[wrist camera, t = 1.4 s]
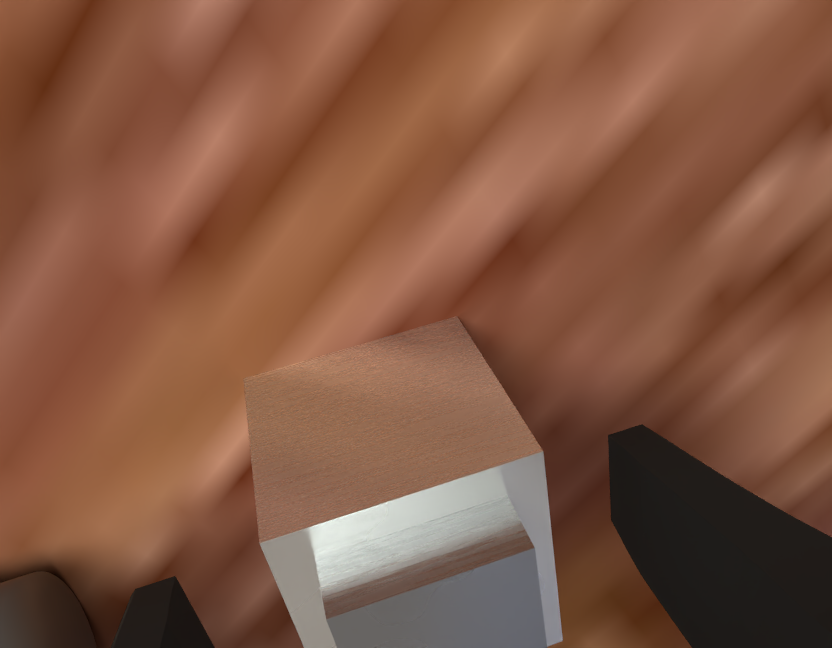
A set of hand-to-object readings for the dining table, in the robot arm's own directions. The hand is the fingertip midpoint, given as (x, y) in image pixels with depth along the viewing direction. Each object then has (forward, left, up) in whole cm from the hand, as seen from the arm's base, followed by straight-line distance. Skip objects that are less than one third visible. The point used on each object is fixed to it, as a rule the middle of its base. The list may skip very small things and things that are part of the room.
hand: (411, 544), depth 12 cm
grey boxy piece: (0, 0, -3) cm, 3 cm away
